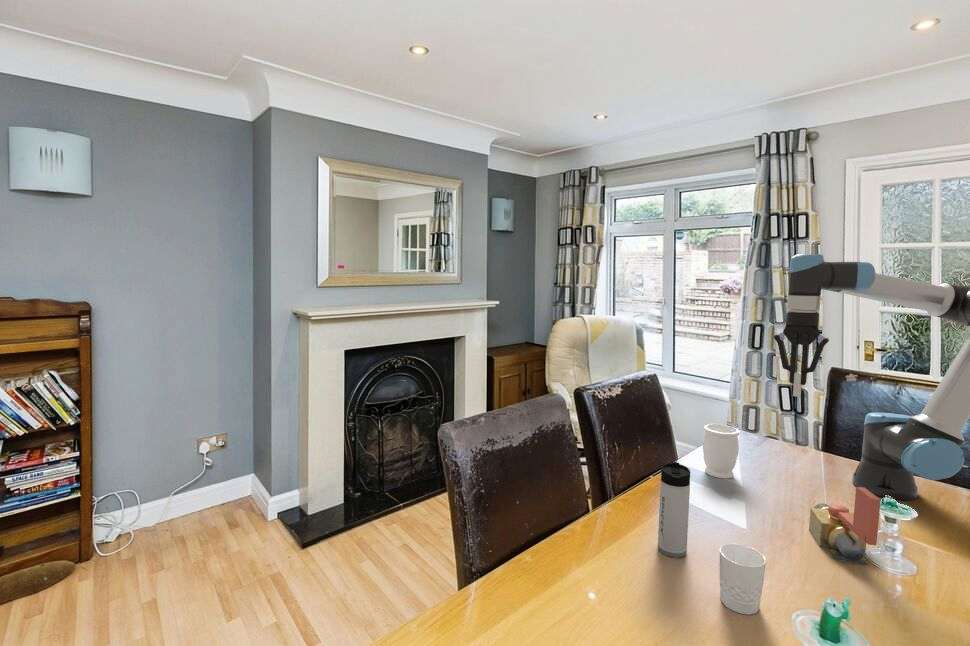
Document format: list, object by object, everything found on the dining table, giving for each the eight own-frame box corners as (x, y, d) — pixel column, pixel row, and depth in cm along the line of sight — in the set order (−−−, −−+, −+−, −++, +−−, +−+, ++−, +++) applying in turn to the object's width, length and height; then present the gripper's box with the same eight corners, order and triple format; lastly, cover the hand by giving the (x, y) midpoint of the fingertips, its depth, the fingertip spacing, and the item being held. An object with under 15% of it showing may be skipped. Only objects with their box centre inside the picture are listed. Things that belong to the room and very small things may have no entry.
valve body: (802, 520, 127) (804, 495, 126) (842, 526, 124) (844, 500, 124) (827, 560, 109) (830, 531, 108) (875, 568, 106) (878, 538, 106)
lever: (861, 544, 103) (865, 498, 102) (824, 508, 118) (827, 468, 117) (882, 546, 102) (887, 500, 101) (843, 510, 118) (846, 470, 117)
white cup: (709, 591, 98) (711, 544, 97) (746, 589, 99) (749, 542, 98) (731, 618, 90) (734, 567, 89) (772, 616, 91) (775, 565, 90)
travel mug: (685, 545, 115) (689, 463, 113) (687, 560, 109) (691, 474, 107) (657, 540, 117) (661, 459, 115) (657, 555, 111) (661, 470, 109)
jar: (741, 481, 150) (744, 434, 149) (705, 478, 152) (708, 432, 151) (731, 468, 161) (734, 424, 159) (698, 466, 163) (700, 422, 161)
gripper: (833, 311, 132) (826, 397, 134) (778, 309, 140) (772, 389, 142) (830, 313, 126) (823, 402, 128) (772, 310, 134) (767, 394, 137)
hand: (796, 395), depth 135 cm, fingers closed
